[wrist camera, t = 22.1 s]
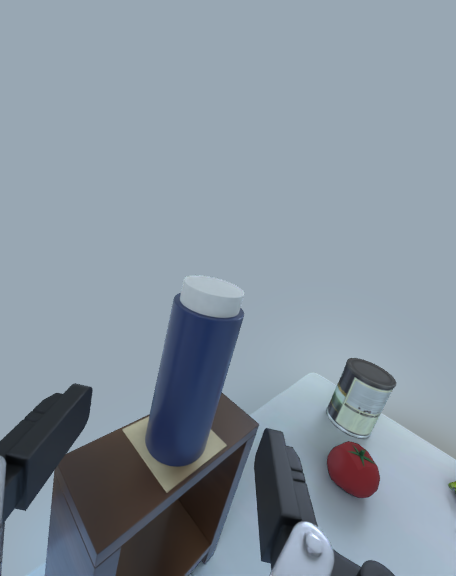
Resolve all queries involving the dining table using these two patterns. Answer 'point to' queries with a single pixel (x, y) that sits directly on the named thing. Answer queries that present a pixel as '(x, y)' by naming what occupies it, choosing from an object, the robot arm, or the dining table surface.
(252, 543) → the dining table surface
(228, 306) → the water bottle
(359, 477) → the tomato
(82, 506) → the shoe shelf
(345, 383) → the coffee can
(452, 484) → the purple flowering plant
